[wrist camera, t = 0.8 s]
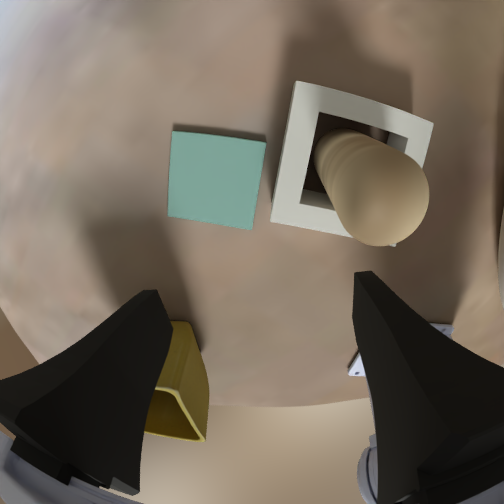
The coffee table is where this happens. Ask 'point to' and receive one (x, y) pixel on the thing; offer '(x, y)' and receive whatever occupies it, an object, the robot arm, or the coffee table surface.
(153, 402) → the flower pot
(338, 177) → the dowel
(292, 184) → the socket block
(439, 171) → the coffee table surface
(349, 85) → the coffee table surface
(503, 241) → the bowl
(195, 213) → the pad
